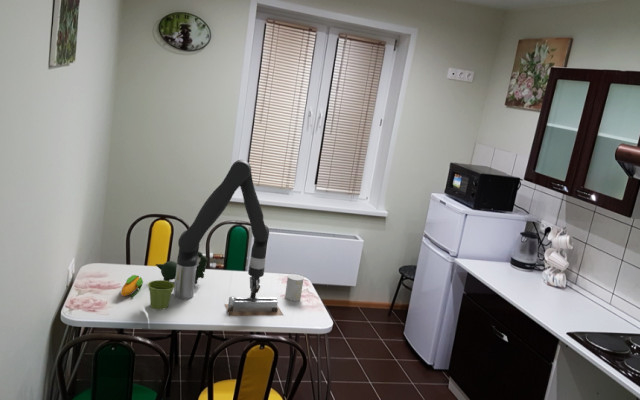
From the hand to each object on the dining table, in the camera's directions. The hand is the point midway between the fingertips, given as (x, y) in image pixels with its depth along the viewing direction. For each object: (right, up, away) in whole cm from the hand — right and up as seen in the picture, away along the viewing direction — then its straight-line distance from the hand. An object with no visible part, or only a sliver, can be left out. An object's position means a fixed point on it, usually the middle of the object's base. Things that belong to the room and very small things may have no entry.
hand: (252, 299), depth 266 cm
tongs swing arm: (+2, -3, -5) cm, 6 cm away
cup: (+19, -3, +16) cm, 25 cm away
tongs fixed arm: (+1, -4, -8) cm, 9 cm away
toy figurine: (-40, +5, +15) cm, 43 cm away
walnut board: (+1, -5, -7) cm, 8 cm away
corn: (-57, +4, -6) cm, 58 cm away
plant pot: (-40, -1, -17) cm, 44 cm away
